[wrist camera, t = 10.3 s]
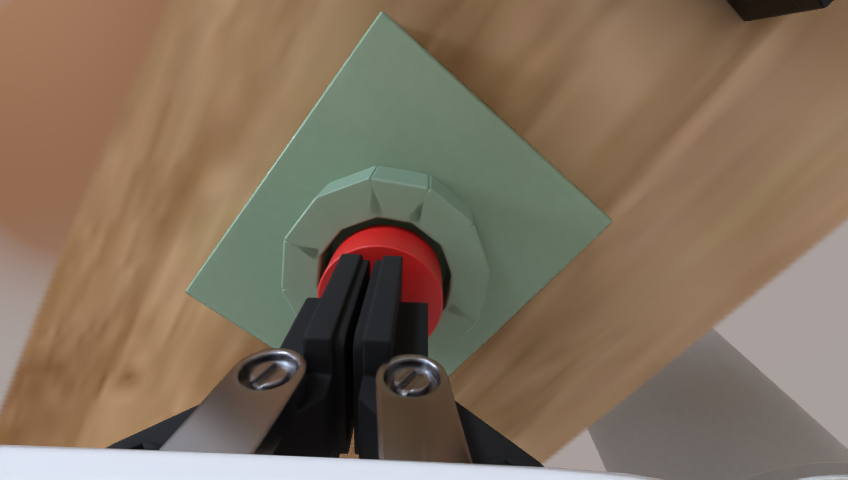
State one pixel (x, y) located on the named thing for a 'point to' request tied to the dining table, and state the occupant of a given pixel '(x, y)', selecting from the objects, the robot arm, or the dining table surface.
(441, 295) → the button
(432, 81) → the button box
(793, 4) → the panel
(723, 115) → the dining table surface
